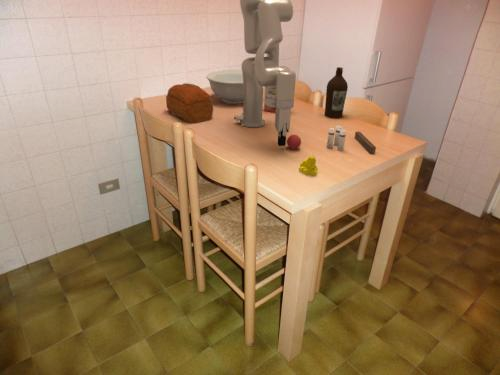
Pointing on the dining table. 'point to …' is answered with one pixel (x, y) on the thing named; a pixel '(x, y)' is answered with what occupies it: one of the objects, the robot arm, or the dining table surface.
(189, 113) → the bread
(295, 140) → the ball
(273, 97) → the cracker box
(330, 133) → the front pin
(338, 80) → the olive oil
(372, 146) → the dark grey bar
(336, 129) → the pin
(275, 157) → the dining table surface
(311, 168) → the grapes
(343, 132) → the pin
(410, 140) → the dining table surface
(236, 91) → the bowl
